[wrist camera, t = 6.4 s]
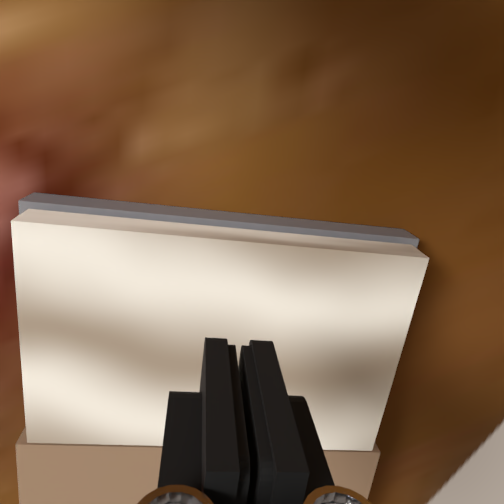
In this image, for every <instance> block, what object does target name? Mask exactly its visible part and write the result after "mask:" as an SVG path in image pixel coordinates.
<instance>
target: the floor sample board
mask: <svg viewBox="0 0 504 504" xmlns="http://www.w3.org/2000/svg"><path fill="white" fill-rule="evenodd" d="M27 209H37V210H48V211H59V212H69V213H80V214H91V215H101V216H112V217H122V218H133V219H144V220H154V221H165V222H176V223H186V224H197V225H208V226H218V227H229V228H240V229H250V230H261V231H271V232H282V233H293V234H303V235H314V236H325V237H335V238H346V239H357V240H367V241H378V242H388V243H399V244H410V245H413V246H414V247H415V248H417V246H418V242H419V239H418V238H417V237H415V236H414V235H412V234H411V233H409V232H408V231H406V230H404V229H397V228H387V227H377V226H367V225H357V224H347V223H337V222H327V221H316V220H306V219H296V218H286V217H276V216H266V215H256V214H246V213H236V212H226V211H215V210H205V209H195V208H185V207H175V206H165V205H155V204H145V203H135V202H125V201H115V200H104V199H94V198H84V197H74V196H64V195H54V194H44V193H32V194H30V195H28V196H26V197H24V198H22V199H21V200H19V215H20V214H21V213H23V212H24V211H26V210H27ZM323 452H324V455H325V457H326V460H327V463H328V466H329V469H330V472H331V475H332V478H333V481H334V484H335V486H341V487H345V488H348V489H351V490H353V491H355V492H357V493H359V494H361V495H362V496H364V497H365V498H366V499H368V496H369V492H370V488H371V485H372V481H373V478H374V474H375V471H376V467H377V464H378V460H379V456H380V451H379V448H378V446H377V444H376V442H375V443H374V446H373V450H372V451H359V450H323ZM161 454H162V446H144V445H101V444H57V443H27V435H26V426H25V428H24V430H23V432H22V434H21V435H20V437H19V439H18V441H17V443H16V459H17V475H18V490H19V504H137V503H138V502H139V501H140V500H141V499H142V498H143V497H144V496H145V495H147V494H148V493H150V492H152V491H154V490H155V489H157V487H158V479H159V470H160V462H161Z"/></svg>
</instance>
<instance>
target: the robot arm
mask: <svg viewBox="0 0 504 504" xmlns="http://www.w3.org/2000/svg"><path fill="white" fill-rule="evenodd" d="M137 504H372V503H371V502H369V501H368V500H367V499H366V498H365V497H364V496H362V495H361V494H359V493H357V492H355V491H353V490H351V489H348V488H345V487H341V486H335V484H334V481H333V478H332V475H331V472H330V469H329V466H328V463H327V460H326V457H325V455H324V452H323V449H322V446H321V443H320V440H319V437H318V434H317V431H316V428H315V425H314V422H313V419H312V416H311V413H310V410H309V407H308V404H307V401H306V399H305V397H303V396H293V395H288V393H287V390H286V386H285V383H284V379H283V376H282V372H281V368H280V365H279V361H278V358H277V354H276V351H275V347H274V343H273V341H263V340H250V342H249V346H246V345H242V346H241V351H240V358H239V365H238V361H237V352H236V345H228V341H227V339H226V338H207V337H205V341H204V351H203V360H202V370H201V380H200V390H199V392H181V391H169V396H168V404H167V413H166V421H165V429H164V437H163V446H162V454H161V462H160V470H159V479H158V487H157V489H155V490H154V491H152V492H150V493H148V494H147V495H145V496H144V497H143V498H142V499H141V500H140V501H139V502H138V503H137Z"/></svg>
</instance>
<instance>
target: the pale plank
mask: <svg viewBox="0 0 504 504" xmlns="http://www.w3.org/2000/svg"><path fill="white" fill-rule="evenodd" d="M11 229H12V243H13V257H14V270H15V284H16V298H17V311H18V325H19V339H20V353H21V366H22V380H23V394H24V408H25V421H26V435H27V443H57V444H101V445H144V446H163V437H164V429H165V421H166V413H167V404H168V396H169V391H181V392H199V390H200V380H201V370H202V360H203V351H204V341H205V337H207V338H226V339H227V341H228V345H236V352H237V361H238V365H239V358H240V351H241V346H242V345H246V346H249V342H250V340H263V341H273V343H274V347H275V351H276V354H277V358H278V361H279V365H280V368H281V372H282V376H283V379H284V383H285V386H286V390H287V393H288V395H293V396H303V397H305V399H306V401H307V404H308V407H309V410H310V413H311V416H312V419H313V422H314V425H315V428H316V431H317V434H318V437H319V440H320V443H321V446H322V449H323V450H359V451H372V450H373V446H374V443H375V440H376V436H377V433H378V429H379V426H380V423H381V419H382V416H383V413H384V409H385V406H386V403H387V399H388V396H389V392H390V389H391V386H392V382H393V379H394V376H395V372H396V369H397V366H398V362H399V359H400V355H401V352H402V349H403V345H404V342H405V339H406V335H407V332H408V329H409V325H410V322H411V318H412V315H413V312H414V308H415V305H416V302H417V298H418V295H419V292H420V288H421V285H422V281H423V278H424V275H425V271H426V268H427V265H428V261H429V258H428V257H427V256H426V255H424V254H423V253H422V252H421V251H419V250H418V249H417V248H415V247H414V246H413V245H410V244H399V243H388V242H378V241H367V240H357V239H346V238H335V237H325V236H314V235H303V234H293V233H282V232H271V231H261V230H250V229H240V228H229V227H218V226H208V225H197V224H186V223H176V222H165V221H154V220H144V219H133V218H122V217H112V216H101V215H91V214H80V213H69V212H59V211H48V210H37V209H27V210H26V211H24V212H23V213H21V214H20V215H18V216H17V217H16V218H14V219H13V220H11Z"/></svg>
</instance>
